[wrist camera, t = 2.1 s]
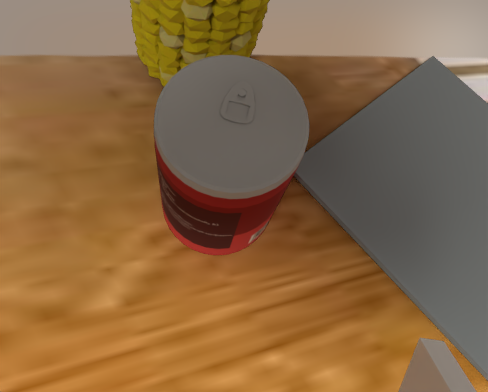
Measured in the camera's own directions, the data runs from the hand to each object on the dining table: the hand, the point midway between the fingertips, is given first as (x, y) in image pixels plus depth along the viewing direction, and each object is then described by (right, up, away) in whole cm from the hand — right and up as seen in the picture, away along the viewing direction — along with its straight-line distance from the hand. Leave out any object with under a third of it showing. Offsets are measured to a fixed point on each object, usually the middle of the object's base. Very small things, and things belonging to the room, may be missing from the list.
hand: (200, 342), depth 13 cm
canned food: (-1, +4, +18) cm, 18 cm away
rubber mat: (+18, +4, +21) cm, 28 cm away
